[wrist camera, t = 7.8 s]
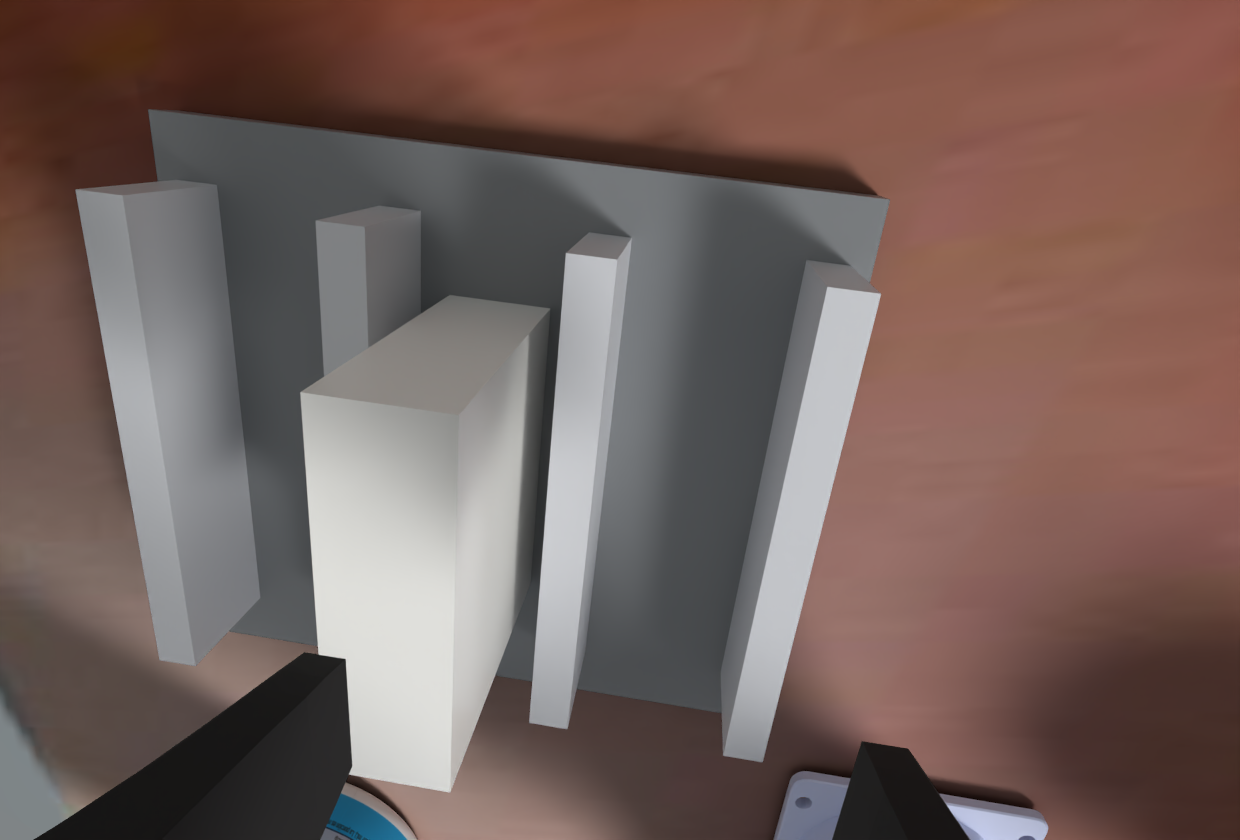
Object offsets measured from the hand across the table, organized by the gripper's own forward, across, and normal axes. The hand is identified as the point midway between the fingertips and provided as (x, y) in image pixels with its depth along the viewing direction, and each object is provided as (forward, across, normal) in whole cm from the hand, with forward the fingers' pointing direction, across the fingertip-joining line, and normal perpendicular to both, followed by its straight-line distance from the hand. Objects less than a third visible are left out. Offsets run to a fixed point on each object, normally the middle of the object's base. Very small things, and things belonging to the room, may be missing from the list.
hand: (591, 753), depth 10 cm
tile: (+9, +4, 0) cm, 10 cm away
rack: (+10, +4, 0) cm, 11 cm away
